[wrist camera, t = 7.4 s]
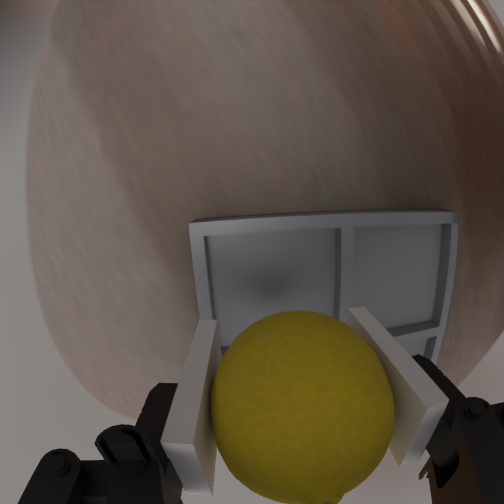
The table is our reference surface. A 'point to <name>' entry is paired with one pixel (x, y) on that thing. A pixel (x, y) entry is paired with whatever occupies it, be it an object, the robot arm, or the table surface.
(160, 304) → the table surface
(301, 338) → the lemon
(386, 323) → the compartment tray
